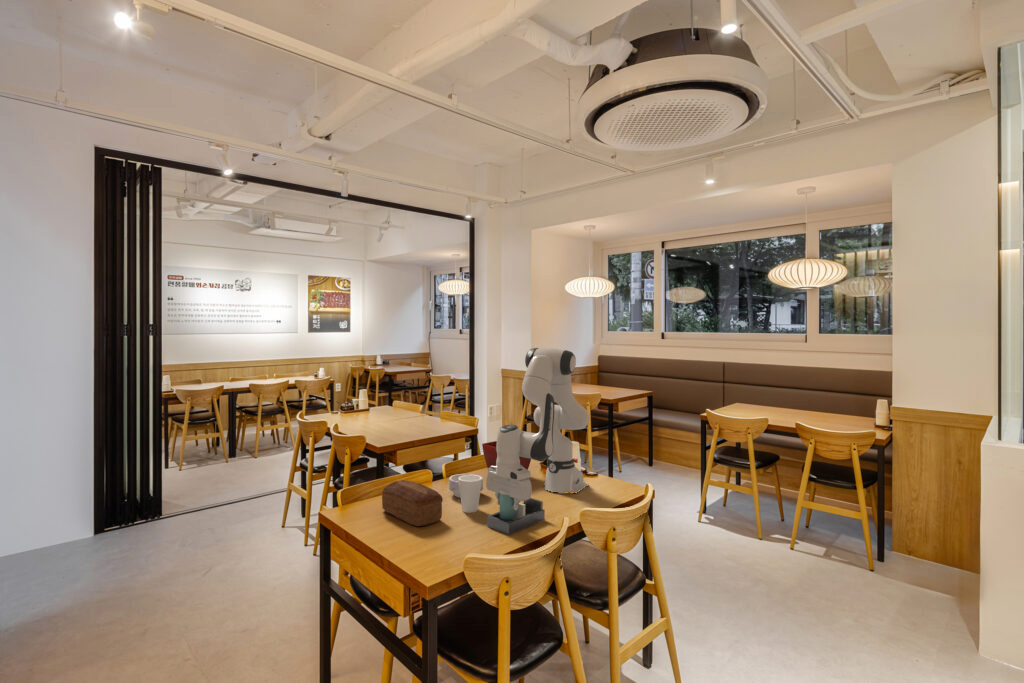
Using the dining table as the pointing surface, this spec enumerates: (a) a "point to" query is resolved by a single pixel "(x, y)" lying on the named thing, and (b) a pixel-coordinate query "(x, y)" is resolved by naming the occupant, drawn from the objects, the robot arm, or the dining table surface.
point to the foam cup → (470, 492)
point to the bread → (412, 502)
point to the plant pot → (491, 455)
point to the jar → (506, 506)
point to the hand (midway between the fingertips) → (507, 507)
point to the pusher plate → (520, 511)
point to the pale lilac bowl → (455, 484)
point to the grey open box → (532, 516)
